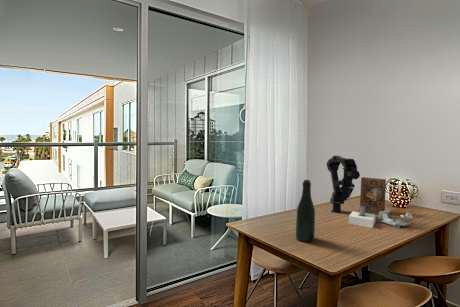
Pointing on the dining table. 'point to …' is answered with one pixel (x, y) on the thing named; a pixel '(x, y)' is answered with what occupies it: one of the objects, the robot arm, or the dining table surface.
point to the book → (373, 194)
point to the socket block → (362, 219)
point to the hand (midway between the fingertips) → (346, 199)
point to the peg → (362, 211)
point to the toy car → (393, 219)
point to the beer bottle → (305, 215)
